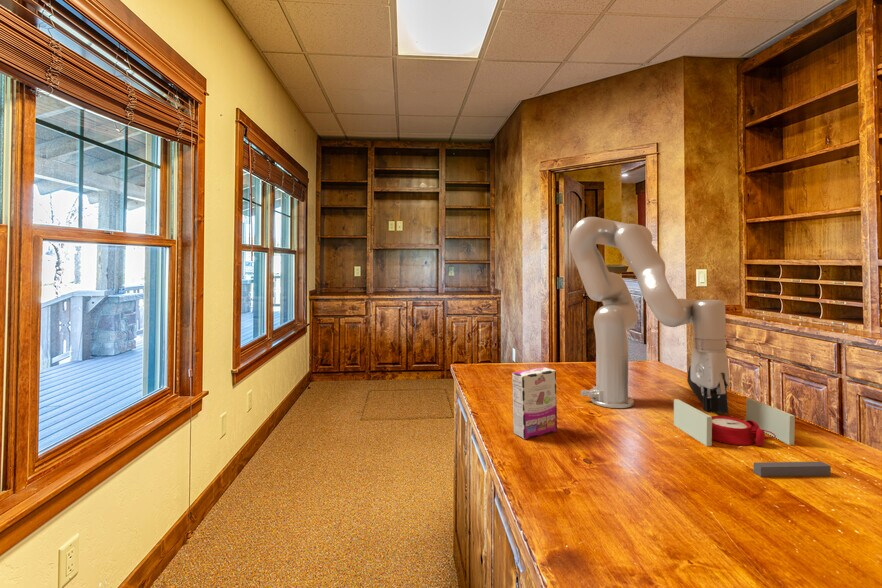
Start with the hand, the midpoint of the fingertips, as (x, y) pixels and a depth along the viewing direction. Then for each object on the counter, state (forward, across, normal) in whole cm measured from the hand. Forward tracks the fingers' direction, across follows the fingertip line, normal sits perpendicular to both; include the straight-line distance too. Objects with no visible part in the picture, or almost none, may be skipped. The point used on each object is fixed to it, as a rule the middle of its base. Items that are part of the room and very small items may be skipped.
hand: (710, 411), depth 114 cm
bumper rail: (+4, +29, -3) cm, 30 cm away
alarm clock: (+4, +11, -1) cm, 12 cm away
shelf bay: (+3, +8, -1) cm, 9 cm away
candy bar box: (+2, +5, -50) cm, 50 cm away
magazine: (+3, -18, +10) cm, 21 cm away
